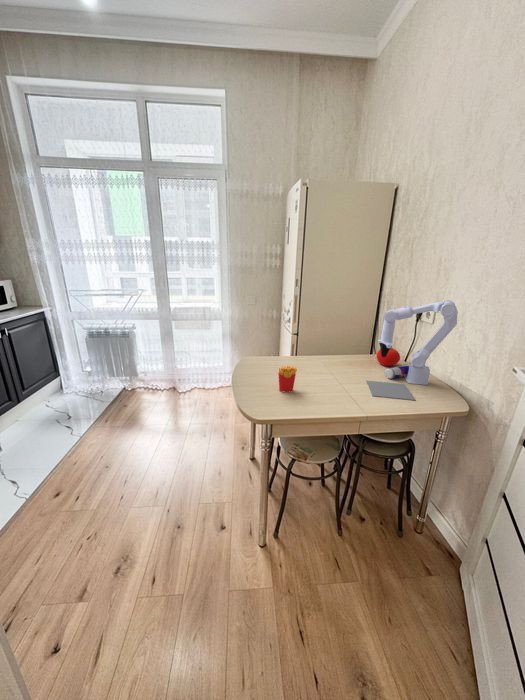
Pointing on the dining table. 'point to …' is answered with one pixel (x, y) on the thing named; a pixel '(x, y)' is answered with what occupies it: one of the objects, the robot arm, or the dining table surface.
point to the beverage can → (397, 372)
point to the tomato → (389, 357)
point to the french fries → (286, 378)
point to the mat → (390, 390)
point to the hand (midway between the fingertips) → (383, 356)
